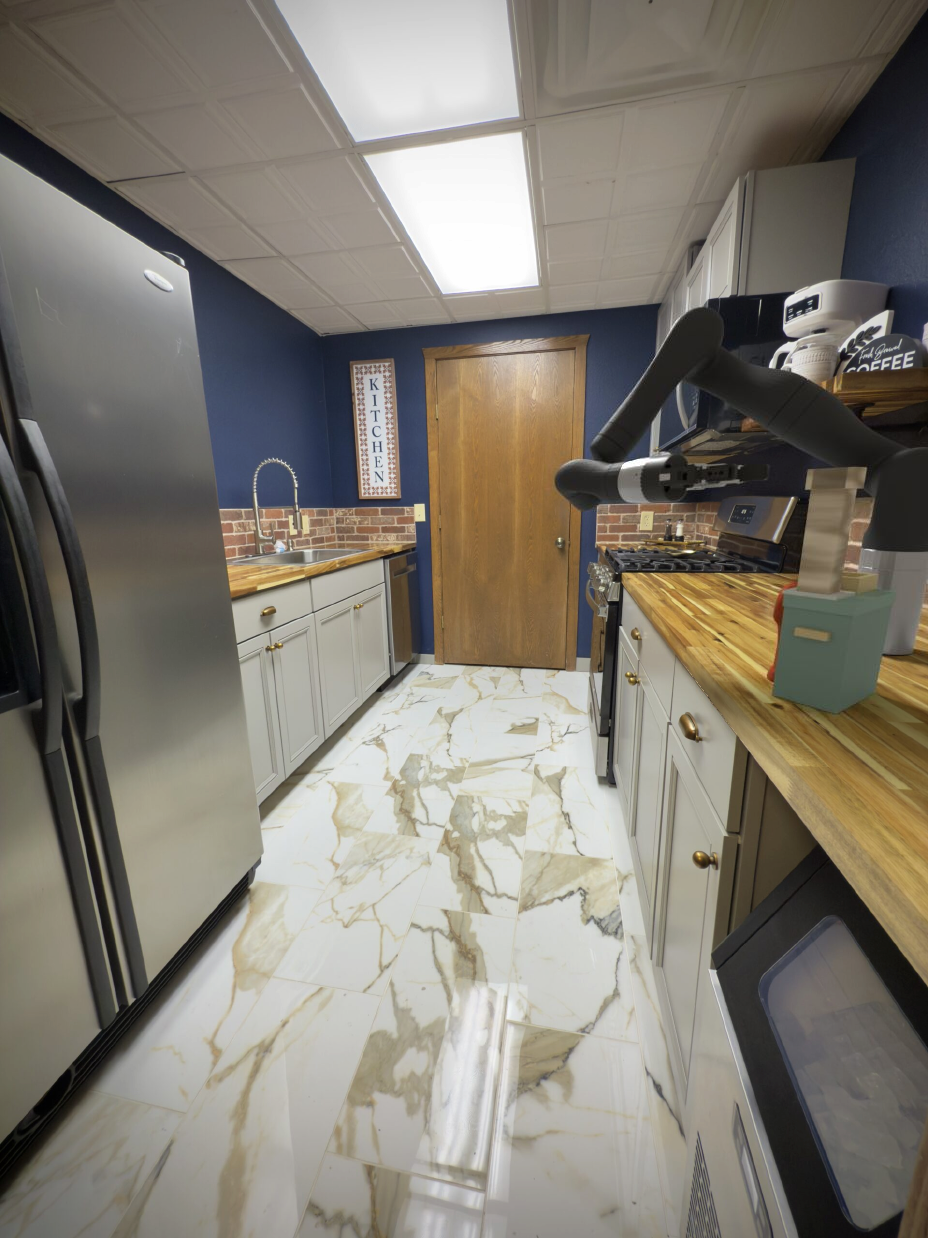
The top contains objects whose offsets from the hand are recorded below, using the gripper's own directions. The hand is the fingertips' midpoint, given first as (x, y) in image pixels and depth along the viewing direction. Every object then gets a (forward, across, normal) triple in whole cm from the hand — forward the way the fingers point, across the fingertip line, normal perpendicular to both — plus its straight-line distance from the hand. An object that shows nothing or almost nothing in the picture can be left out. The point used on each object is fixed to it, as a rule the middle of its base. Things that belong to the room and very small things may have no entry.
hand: (752, 471), depth 69 cm
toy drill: (+4, +8, +31) cm, 32 cm away
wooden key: (+10, -2, +16) cm, 19 cm away
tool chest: (+11, +1, +30) cm, 32 cm away
